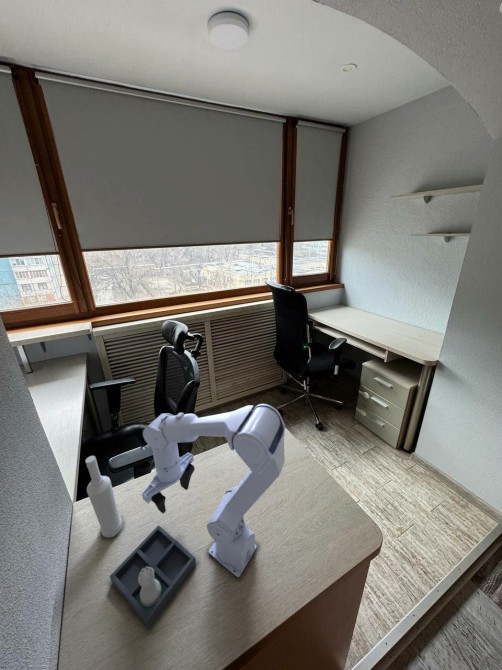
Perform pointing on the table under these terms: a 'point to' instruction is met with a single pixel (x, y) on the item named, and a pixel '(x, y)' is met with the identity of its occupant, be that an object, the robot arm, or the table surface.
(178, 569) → the tray
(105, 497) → the bottle
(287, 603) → the table surface
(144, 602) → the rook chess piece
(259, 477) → the robot arm
